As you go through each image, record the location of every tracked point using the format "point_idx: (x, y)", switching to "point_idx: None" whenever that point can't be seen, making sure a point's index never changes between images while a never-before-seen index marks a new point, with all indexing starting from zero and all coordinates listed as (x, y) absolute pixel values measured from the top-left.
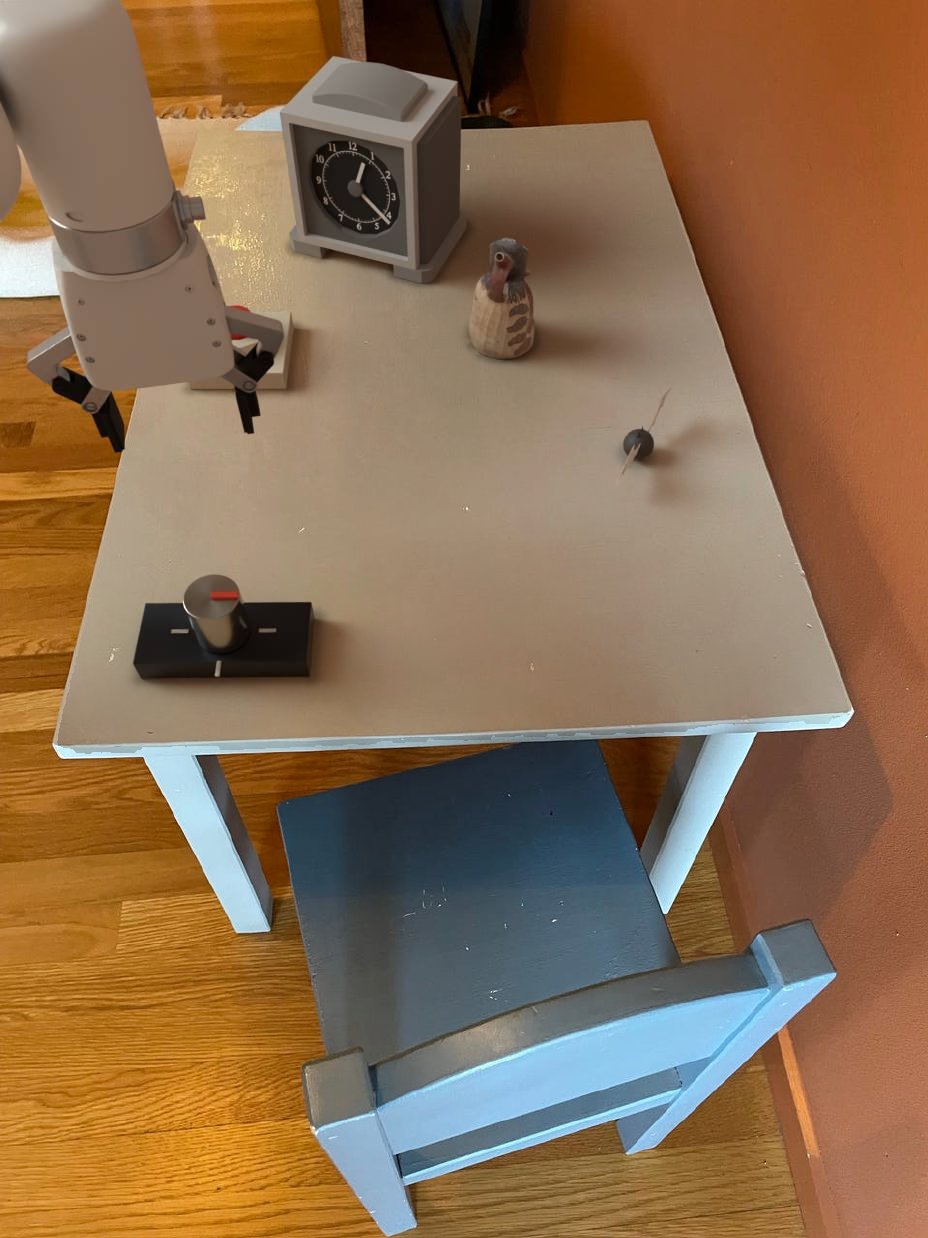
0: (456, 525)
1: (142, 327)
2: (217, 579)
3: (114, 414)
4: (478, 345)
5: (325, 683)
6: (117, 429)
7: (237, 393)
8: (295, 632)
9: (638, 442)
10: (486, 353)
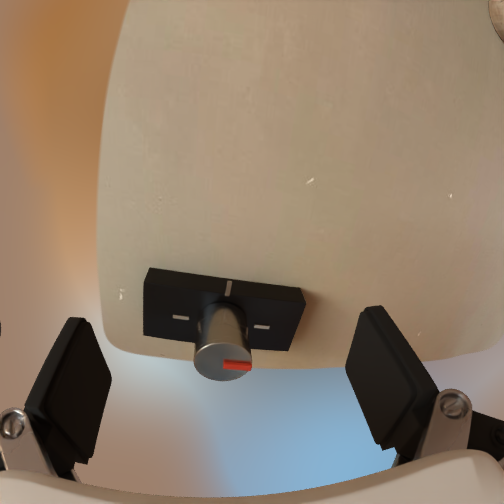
0: (438, 211)
1: None
2: (230, 348)
3: (84, 414)
4: (498, 24)
5: (294, 339)
6: (98, 409)
7: (384, 440)
8: (285, 329)
9: None
10: (499, 32)
